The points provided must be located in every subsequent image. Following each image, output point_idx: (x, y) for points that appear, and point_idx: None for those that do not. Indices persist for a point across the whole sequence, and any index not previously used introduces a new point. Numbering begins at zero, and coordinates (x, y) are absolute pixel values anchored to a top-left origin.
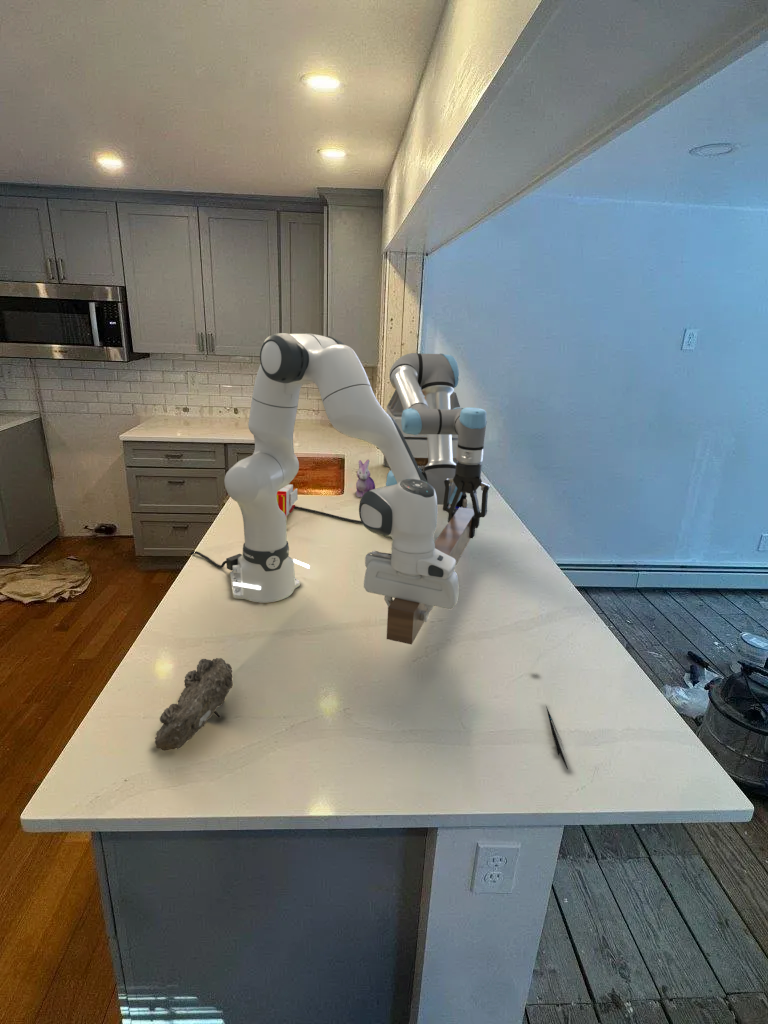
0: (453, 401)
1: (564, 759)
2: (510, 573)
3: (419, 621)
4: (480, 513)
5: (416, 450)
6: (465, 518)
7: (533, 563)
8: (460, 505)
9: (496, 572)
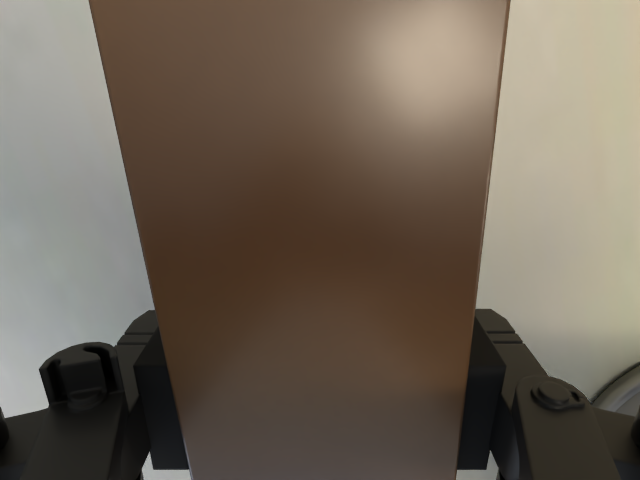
0: None
1: None
2: (51, 221)
3: None
4: (7, 467)
5: None
6: (243, 272)
7: (7, 371)
8: None
9: (117, 200)
